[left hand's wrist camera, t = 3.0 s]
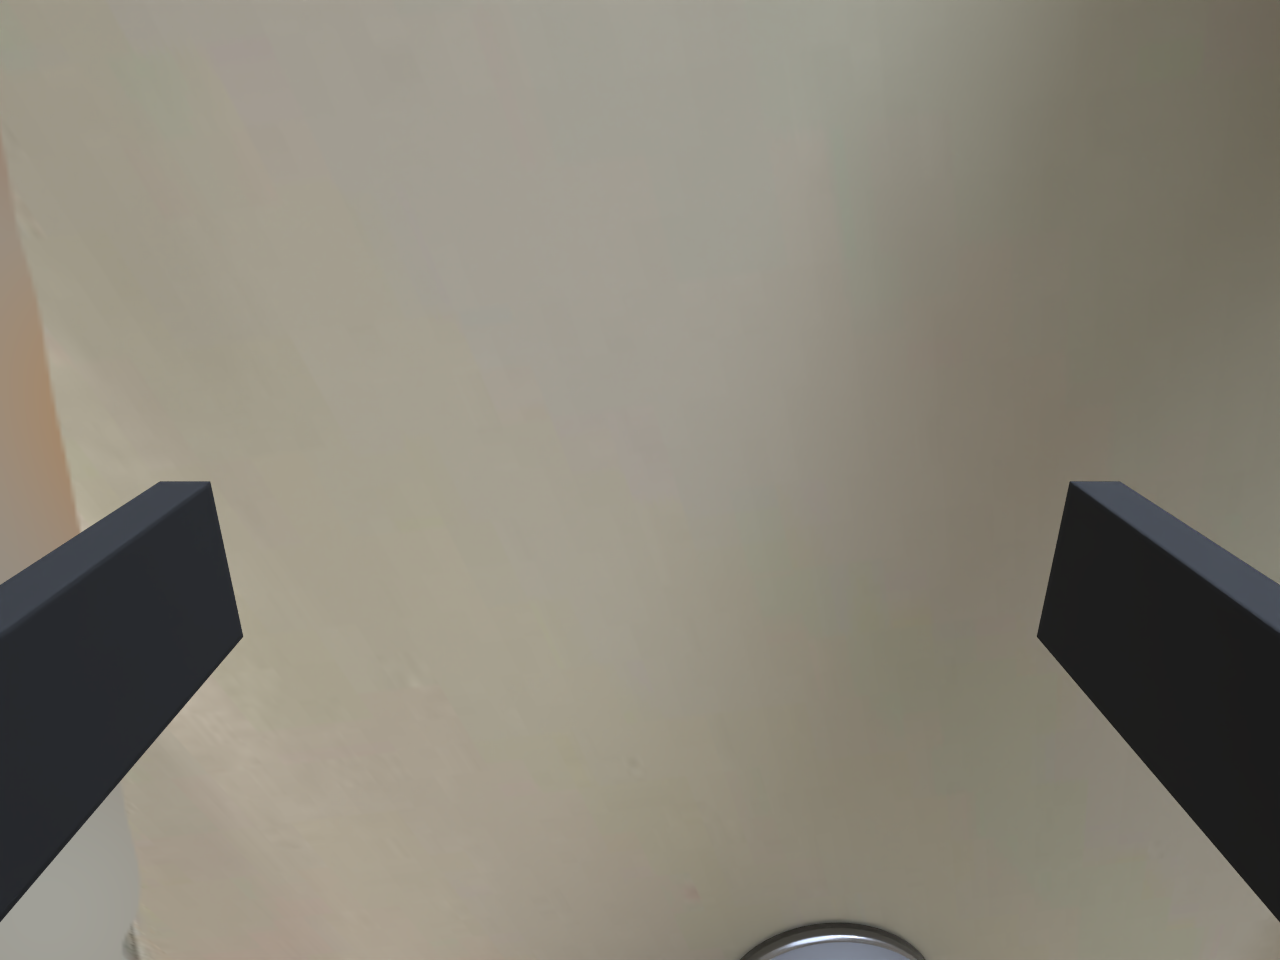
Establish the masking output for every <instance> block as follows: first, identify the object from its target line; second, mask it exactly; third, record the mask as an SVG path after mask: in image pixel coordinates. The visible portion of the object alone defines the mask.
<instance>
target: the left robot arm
mask: <svg viewBox="0 0 1280 960" xmlns="http://www.w3.org/2000/svg"><path fill="white" fill-rule="evenodd" d="M242 637H243V634H242V629H241V624H240V619H239V615H238V610H237V605H236V601H235V596H234V591H233V587H232V582H231V577H230V572H229V568H228V563H227V558H226V554H225V549H224V544H223V540H222V535H221V530H220V525H219V521H218V516H217V511H216V507H215V502H214V497H213V492H212V488H211V483H210V482H159V483H157V484H155V485H154V486H152V487H151V488H149V489H148V490H146V491H145V492H143V493H142V494H140V495H138V496H137V497H135V498H134V499H132V500H131V501H129V502H128V503H126V504H125V505H123V506H121V507H120V508H118V509H117V510H115V511H114V512H112V513H111V514H109V515H108V516H106V517H104V518H103V519H101V520H100V521H98V522H97V523H95V524H94V525H92V526H91V527H89V528H87V529H86V530H84V531H83V532H81V533H80V534H78V535H77V536H75V537H74V538H72V539H71V540H69V541H67V542H66V543H64V544H63V545H61V546H60V547H58V548H57V549H55V550H54V551H52V552H50V553H49V554H47V555H46V556H44V557H43V558H41V559H40V560H38V561H37V562H35V563H33V564H32V565H30V566H29V567H27V568H26V569H24V570H23V571H21V572H20V573H18V574H17V575H15V576H13V577H12V578H10V579H9V580H7V581H6V582H4V583H3V584H1V585H0V922H1V921H2V919H3V918H4V917H5V916H6V915H7V913H8V912H9V911H10V910H11V909H12V908H13V906H14V905H15V904H16V903H17V902H18V901H19V899H20V898H21V897H22V896H23V895H24V893H25V892H26V891H27V890H28V889H29V888H30V886H31V885H32V884H33V883H34V882H35V880H36V879H37V878H38V877H39V876H40V875H41V873H42V872H43V871H44V870H45V869H46V868H47V866H48V865H49V864H50V863H51V862H52V861H53V859H54V858H55V857H56V856H57V855H58V854H59V852H60V851H61V850H62V849H63V848H64V847H65V845H66V844H67V843H68V842H69V841H70V839H71V838H72V837H73V836H74V835H75V834H76V832H77V831H78V830H79V829H80V828H81V827H82V825H83V824H84V823H85V822H86V821H87V820H88V818H89V817H90V816H91V815H92V814H93V812H94V811H95V810H96V809H97V808H98V807H99V805H100V804H101V803H102V802H103V801H104V800H105V798H106V797H107V796H108V795H109V794H110V792H111V791H112V790H113V789H114V788H115V787H116V785H117V784H118V783H119V782H120V781H121V780H122V778H123V777H124V776H125V775H126V774H127V773H128V771H129V770H130V769H131V768H132V767H133V765H134V764H135V763H136V762H137V761H138V760H139V758H140V757H141V756H142V755H143V754H144V753H145V751H146V750H147V749H148V748H149V747H150V746H151V744H152V743H153V742H154V741H155V740H156V738H157V737H158V736H159V735H160V734H161V733H162V731H163V730H164V729H165V728H166V727H167V726H168V724H169V723H170V722H171V721H172V720H173V719H174V717H175V716H176V715H177V714H178V713H179V711H180V710H181V709H182V708H183V707H184V706H185V704H186V703H187V702H188V701H189V700H190V699H191V697H192V696H193V695H194V694H195V693H196V691H197V690H198V689H199V688H200V687H201V686H202V684H203V683H204V682H205V681H206V680H207V679H208V677H209V676H210V675H211V674H212V673H213V672H214V670H215V669H216V668H217V667H218V666H219V664H220V663H221V662H222V661H223V660H224V659H225V657H226V656H227V655H228V654H229V653H230V652H231V650H232V649H233V648H234V647H235V646H236V645H237V643H238V642H239V641H240V640H241V639H242ZM1037 637H1038V639H1039V640H1040V641H1041V642H1042V643H1043V645H1044V646H1045V647H1046V648H1047V649H1048V650H1049V652H1050V653H1051V654H1052V655H1053V656H1054V657H1055V659H1056V660H1057V661H1058V662H1059V663H1060V664H1061V666H1062V667H1063V668H1064V669H1065V670H1066V672H1067V673H1068V674H1069V675H1070V676H1071V677H1072V679H1073V680H1074V681H1075V682H1076V683H1077V684H1078V686H1079V687H1080V688H1081V689H1082V690H1083V691H1084V693H1085V694H1086V695H1087V696H1088V697H1089V699H1090V700H1091V701H1092V702H1093V703H1094V704H1095V706H1096V707H1097V708H1098V709H1099V710H1100V711H1101V713H1102V714H1103V715H1104V716H1105V717H1106V719H1107V720H1108V721H1109V722H1110V723H1111V724H1112V726H1113V727H1114V728H1115V729H1116V730H1117V731H1118V733H1119V734H1120V735H1121V736H1122V737H1123V738H1124V740H1125V741H1126V742H1127V743H1128V744H1129V746H1130V747H1131V748H1132V749H1133V750H1134V751H1135V753H1136V754H1137V755H1138V756H1139V757H1140V758H1141V760H1142V761H1143V762H1144V763H1145V764H1146V765H1147V767H1148V768H1149V769H1150V770H1151V771H1152V773H1153V774H1154V775H1155V776H1156V777H1157V778H1158V780H1159V781H1160V782H1161V783H1162V784H1163V785H1164V787H1165V788H1166V789H1167V790H1168V791H1169V793H1170V794H1171V795H1172V796H1173V797H1174V798H1175V800H1176V801H1177V802H1178V803H1179V804H1180V805H1181V807H1182V808H1183V809H1184V810H1185V811H1186V812H1187V814H1188V815H1189V816H1190V817H1191V818H1192V820H1193V821H1194V822H1195V823H1196V824H1197V825H1198V827H1199V828H1200V829H1201V830H1202V831H1203V832H1204V834H1205V835H1206V836H1207V837H1208V838H1209V839H1210V841H1211V842H1212V843H1213V844H1214V845H1215V847H1216V848H1217V849H1218V850H1219V851H1220V852H1221V854H1222V855H1223V856H1224V857H1225V858H1226V859H1227V861H1228V862H1229V863H1230V864H1231V865H1232V867H1233V868H1234V869H1235V870H1236V871H1237V872H1238V874H1239V875H1240V876H1241V877H1242V878H1243V879H1244V881H1245V882H1246V883H1247V884H1248V885H1249V886H1250V888H1251V889H1252V890H1253V891H1254V892H1255V894H1256V895H1257V896H1258V897H1259V898H1260V899H1261V901H1262V902H1263V903H1264V904H1265V905H1266V906H1267V908H1268V909H1269V910H1270V911H1271V912H1272V913H1273V915H1274V916H1275V917H1276V918H1277V919H1278V921H1279V922H1280V585H1279V584H1277V583H1276V582H1274V581H1273V580H1271V579H1270V578H1268V577H1267V576H1265V575H1264V574H1262V573H1260V572H1259V571H1257V570H1256V569H1254V568H1253V567H1251V566H1250V565H1248V564H1247V563H1245V562H1243V561H1242V560H1240V559H1239V558H1237V557H1236V556H1234V555H1233V554H1231V553H1230V552H1228V551H1226V550H1225V549H1223V548H1222V547H1220V546H1219V545H1217V544H1216V543H1214V542H1213V541H1211V540H1209V539H1208V538H1206V537H1205V536H1203V535H1202V534H1200V533H1199V532H1197V531H1196V530H1194V529H1192V528H1191V527H1189V526H1188V525H1186V524H1185V523H1183V522H1182V521H1180V520H1179V519H1177V518H1176V517H1174V516H1172V515H1171V514H1169V513H1168V512H1166V511H1165V510H1163V509H1162V508H1160V507H1159V506H1157V505H1155V504H1154V503H1152V502H1151V501H1149V500H1148V499H1146V498H1145V497H1143V496H1142V495H1140V494H1138V493H1137V492H1135V491H1134V490H1132V489H1131V488H1129V487H1128V486H1126V485H1125V484H1123V483H1121V482H1070V483H1069V488H1068V492H1067V497H1066V502H1065V507H1064V511H1063V516H1062V521H1061V525H1060V530H1059V535H1058V539H1057V544H1056V549H1055V554H1054V558H1053V563H1052V568H1051V572H1050V577H1049V582H1048V587H1047V591H1046V596H1045V601H1044V605H1043V610H1042V615H1041V619H1040V624H1039V629H1038V634H1037ZM741 960H926V959H925V958H924V957H923V956H922V954H921V953H920V952H919V951H918V950H917V949H915V948H914V947H913V946H912V945H911V944H909V943H908V942H906V941H905V940H903V939H901V938H900V937H898V936H896V935H894V934H891V933H889V932H887V931H884V930H881V929H878V928H874V927H870V926H865V925H860V924H851V923H824V924H815V925H810V926H804V927H800V928H796V929H793V930H790V931H787V932H784V933H781V934H779V935H776V936H774V937H772V938H770V939H768V940H766V941H764V942H763V943H761V944H759V945H758V946H756V947H755V948H753V949H752V950H751V951H749V952H748V953H747V954H746V955H745V956H744V957H743V958H741Z"/></svg>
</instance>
